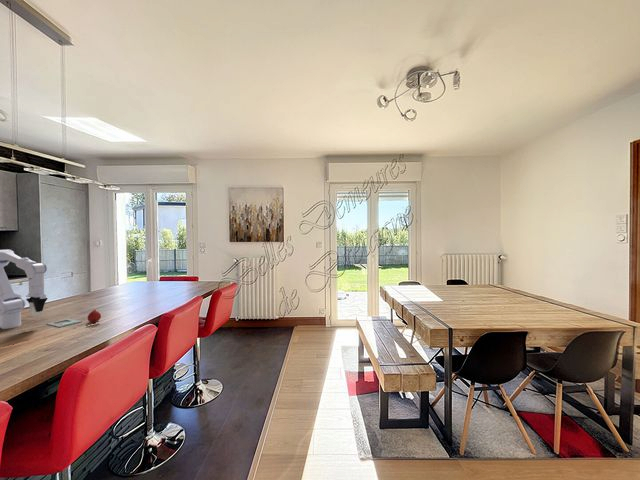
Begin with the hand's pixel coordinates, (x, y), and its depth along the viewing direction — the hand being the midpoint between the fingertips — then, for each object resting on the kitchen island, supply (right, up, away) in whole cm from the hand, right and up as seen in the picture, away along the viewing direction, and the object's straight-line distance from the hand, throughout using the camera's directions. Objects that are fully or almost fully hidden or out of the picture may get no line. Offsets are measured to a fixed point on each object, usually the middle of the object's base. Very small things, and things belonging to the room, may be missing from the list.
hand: (37, 311), depth 145 cm
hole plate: (+8, -10, +7) cm, 15 cm away
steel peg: (0, -2, 0) cm, 2 cm away
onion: (+23, -10, +9) cm, 27 cm away
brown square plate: (-1, -10, -1) cm, 10 cm away
